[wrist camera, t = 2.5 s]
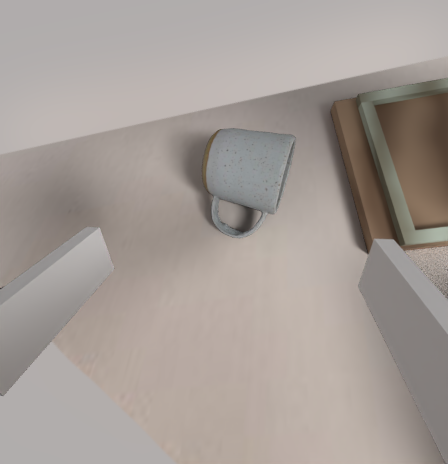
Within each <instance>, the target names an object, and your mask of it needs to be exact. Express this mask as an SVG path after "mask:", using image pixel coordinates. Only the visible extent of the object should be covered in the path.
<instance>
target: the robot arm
mask: <svg viewBox="0 0 448 464" xmlns="http://www.w3.org/2000/svg"><path fill="white" fill-rule="evenodd" d="M113 270H114V266H113V263H112V260H111V258H110V255H109V252H108V249H107V247H106V244H105V241H104V238H103V235H102V233H101V230H100V227H86V228H84V229H83V230H81V231H80V232H79V233H77V234H76V235H75V236H73V237H72V238H70V239H69V240H68V241H66V242H65V243H64V244H62V245H61V246H59V247H58V248H57V249H55V250H54V251H53V252H51V253H50V254H48V255H47V256H46V257H44V258H43V259H42V260H40V261H39V262H37V263H36V264H35V265H33V266H32V267H31V268H29V269H28V270H26V271H25V272H24V273H22V274H21V275H20V276H18V277H17V278H15V279H14V280H13V281H11V282H10V283H9V284H7V285H6V286H4V287H2V288H0V395H1V396H3V395H5V394H6V392H7V391H8V390H9V389H10V388H11V387H12V386H13V384H14V383H15V382H16V381H17V380H18V379H19V377H20V376H21V375H22V374H23V373H24V372H25V371H26V370H27V368H28V367H29V366H30V365H31V364H32V363H33V362H34V360H35V359H36V358H37V357H38V356H39V355H40V353H41V352H42V351H43V350H44V349H45V348H46V347H47V345H48V344H49V343H50V342H51V341H52V340H53V339H54V338H55V336H56V335H57V334H58V333H59V332H60V331H61V330H62V328H63V327H64V326H65V325H66V324H67V323H68V322H69V320H70V319H71V318H72V317H73V316H74V315H75V314H76V312H77V311H78V310H79V309H80V308H81V307H82V306H83V304H84V303H85V302H86V301H87V300H88V299H89V298H90V296H91V295H92V294H93V293H94V292H95V291H96V290H97V288H98V287H99V286H100V285H101V284H102V283H103V282H104V280H105V279H106V278H107V277H108V276H109V275H110V274H111V272H112V271H113ZM358 287H359V289H360V291H361V293H362V295H363V297H364V299H365V301H366V303H367V305H368V307H369V309H370V311H371V314H372V316H373V318H374V320H375V322H376V324H377V326H378V328H379V330H380V332H381V334H382V336H383V338H384V340H385V342H386V344H387V346H388V348H389V350H390V352H391V354H392V356H393V358H394V360H395V362H396V364H397V366H398V368H399V370H400V372H401V374H402V376H403V378H404V381H405V383H406V385H407V387H408V389H409V391H410V393H411V395H412V397H413V399H414V401H415V403H416V405H417V407H418V409H419V411H420V413H421V415H422V417H423V419H424V421H425V423H426V425H427V427H428V429H429V431H430V433H431V435H432V437H433V439H434V441H435V443H436V445H437V448H438V450H439V452H440V454H441V456H442V458H443V460H444V462H445V464H448V299H447V298H446V297H445V296H444V295H443V294H442V293H441V292H440V290H439V289H438V288H437V287H436V286H435V285H434V284H433V283H432V282H431V280H430V279H429V278H428V277H427V276H426V275H425V274H424V273H423V272H422V270H421V269H420V268H419V267H418V266H417V265H416V264H415V263H414V262H413V261H412V259H411V258H410V257H409V256H408V255H407V254H406V253H405V252H404V251H403V249H402V248H401V247H400V246H399V245H398V244H397V243H396V242H395V241H394V239H374V240H373V243H372V246H371V249H370V252H369V255H368V258H367V261H366V264H365V267H364V270H363V273H362V276H361V279H360V282H359V285H358Z"/></svg>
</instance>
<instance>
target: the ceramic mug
mask: <svg viewBox="0 0 448 464" xmlns="http://www.w3.org/2000/svg"><path fill="white" fill-rule="evenodd" d="M295 140H296V138H295V137H294V136H293V135H287V134H277V133H269V132H259V131H249V130H243V129H234V128H232V129H220V130H218V131H217V132H215V133H214V134H213V135H212V136H211V138H210V140H209V142H208V144H207V147H206V150H205V153H204V158H203V164H202V179H203V184H204V186H205V188H206V190H207V191H208V192H209V193H210V194H212V195H213V200H212V205H211V214H212V219H213V222H214V223H215V225H216V227H217V228H218V229H219V230H220V231H221V232H222V233H224V234H226V235H228V236H231V237H234V238H243V237H247V236H249V235H251V234H252V233H254V232H255V231H256V230H257V229H258V228H259V227H260V226H261V224H262V223H263V221H264V220H265V218H266V215H267V214H268V213H269V214H275V213H276V211H277V209H278V207H279V204H280V201H281V198H282V195H283V192H284V188H285V185H286V181H287V177H288V174H289V170H290V166H291V162H292V157H293V152H294V147H295ZM219 199H223V200H226V201H230V202H233V203H237V204H241V205H244V206H246V207H249V208H253V209H256V210H259V211H261V212H262V216H261V218H260V219H259V221H258V222H257V223H256V225H255V226H254V227H253V228H252V229H250V230H249V231H247V232H240V231H238V230H235V229H233V228H231V227H229V226H228V225H227V224H225V223H223V224H222V222H221V221H220V218H219V216H218V204H219Z"/></svg>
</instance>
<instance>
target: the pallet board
mask: <svg viewBox="0 0 448 464" xmlns="http://www.w3.org/2000/svg"><path fill="white" fill-rule="evenodd" d="M331 115H332V119H333V122H334V126H335V130H336V134H337V138H338V141H339V145H340V149H341V153H342V156H343V160H344V164H345V168H346V172H347V175H348V179H349V183H350V187H351V190H352V194H353V198H354V202H355V206H356V209H357V213H358V217H359V221H360V224H361V228H362V232H363V236H364V240H365V243H366V247H367V251H368V254H369V252H370V249H371V246H372V243H373V240H374V239H394V241H395V242H396V243H397V244H398V245H399V246H400V247H401V248H402V249H403V251H405V250H415V249H424V248H433V247H442V246H448V78H445V79H439V80H434V81H428V82H423V83H417V84H412V85H406V86H401V87H395V88H390V89H384V90H379V91H373V92H368V93H363V94H358V96H357V98H352V99H346V100H340V101H335V102H334V104H333V106H332V109H331Z"/></svg>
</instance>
